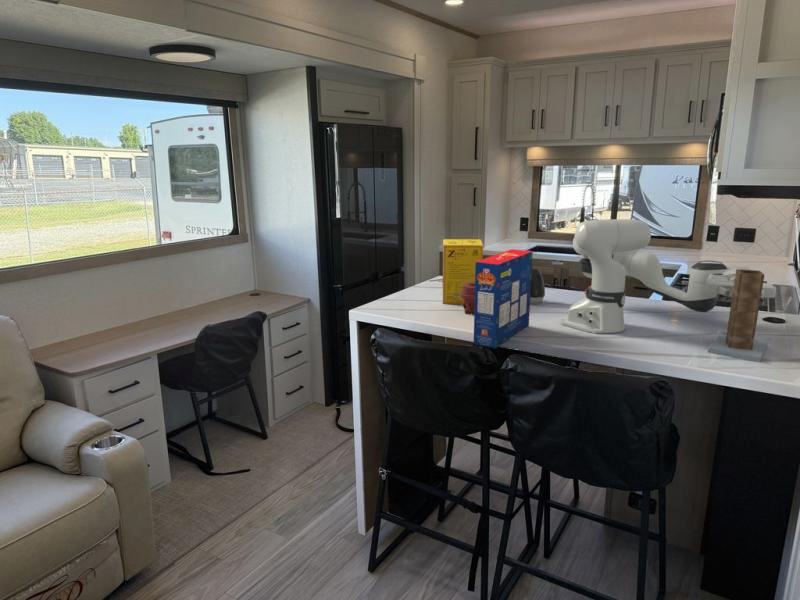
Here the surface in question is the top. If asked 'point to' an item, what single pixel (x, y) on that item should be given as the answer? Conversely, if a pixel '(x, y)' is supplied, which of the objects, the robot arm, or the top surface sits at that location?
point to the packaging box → (459, 266)
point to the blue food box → (502, 297)
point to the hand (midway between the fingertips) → (743, 294)
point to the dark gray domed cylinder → (536, 287)
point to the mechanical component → (468, 297)
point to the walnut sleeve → (744, 309)
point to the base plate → (722, 349)
